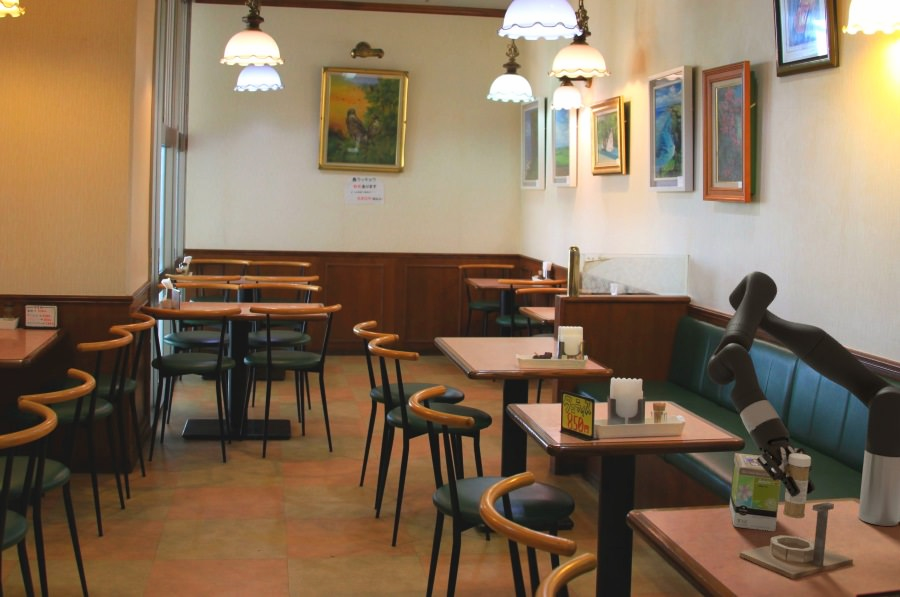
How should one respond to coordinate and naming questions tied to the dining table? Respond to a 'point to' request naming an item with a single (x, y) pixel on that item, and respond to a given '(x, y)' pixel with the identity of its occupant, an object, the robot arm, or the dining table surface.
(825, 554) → the socket base
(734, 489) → the tea box
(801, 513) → the sprinkles bottle
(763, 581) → the dining table surface
